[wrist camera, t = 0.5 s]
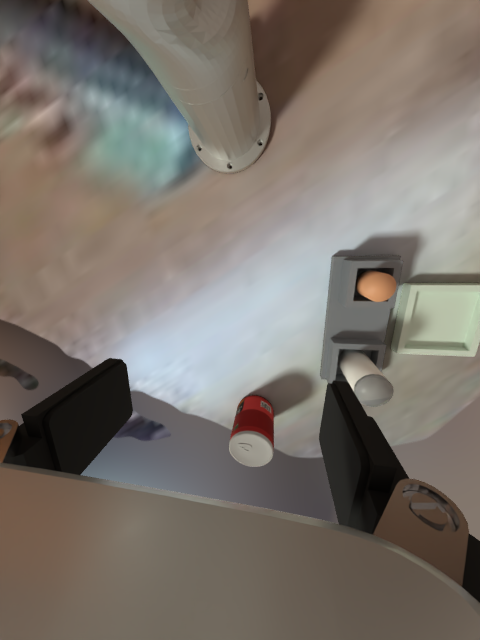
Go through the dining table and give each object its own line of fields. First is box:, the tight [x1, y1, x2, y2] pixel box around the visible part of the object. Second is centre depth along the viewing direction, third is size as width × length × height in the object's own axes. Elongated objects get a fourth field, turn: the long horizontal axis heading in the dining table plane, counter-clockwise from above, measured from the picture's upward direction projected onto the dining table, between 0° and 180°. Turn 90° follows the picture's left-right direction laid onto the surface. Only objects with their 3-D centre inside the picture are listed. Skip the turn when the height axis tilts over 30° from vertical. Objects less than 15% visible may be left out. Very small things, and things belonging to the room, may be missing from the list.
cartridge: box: [338, 349, 393, 407], centre depth 37 cm, size 5×5×10 cm
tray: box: [391, 283, 480, 357], centre depth 38 cm, size 12×12×2 cm
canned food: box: [229, 395, 274, 467], centre depth 45 cm, size 8×8×11 cm
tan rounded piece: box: [355, 271, 396, 302], centre depth 33 cm, size 4×4×4 cm
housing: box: [320, 256, 403, 384], centre depth 38 cm, size 23×10×6 cm, turn 1°
